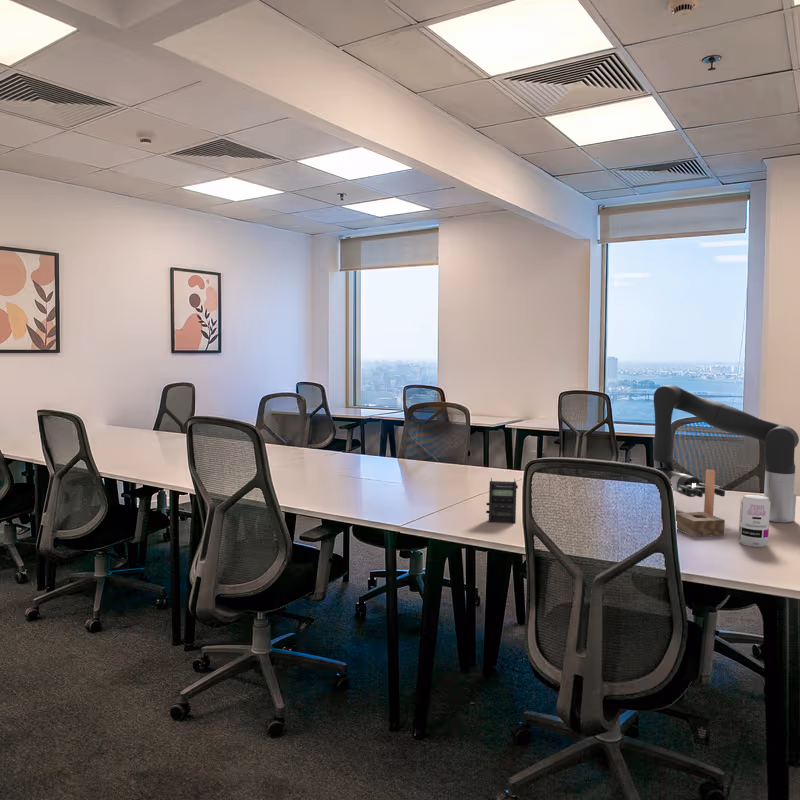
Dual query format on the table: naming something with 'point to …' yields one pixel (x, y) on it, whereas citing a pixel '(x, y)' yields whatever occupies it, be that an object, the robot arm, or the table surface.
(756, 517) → the supplement can
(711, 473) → the peg
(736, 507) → the table surface
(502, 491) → the geiger counter
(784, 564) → the table surface
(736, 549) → the table surface
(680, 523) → the socket block
